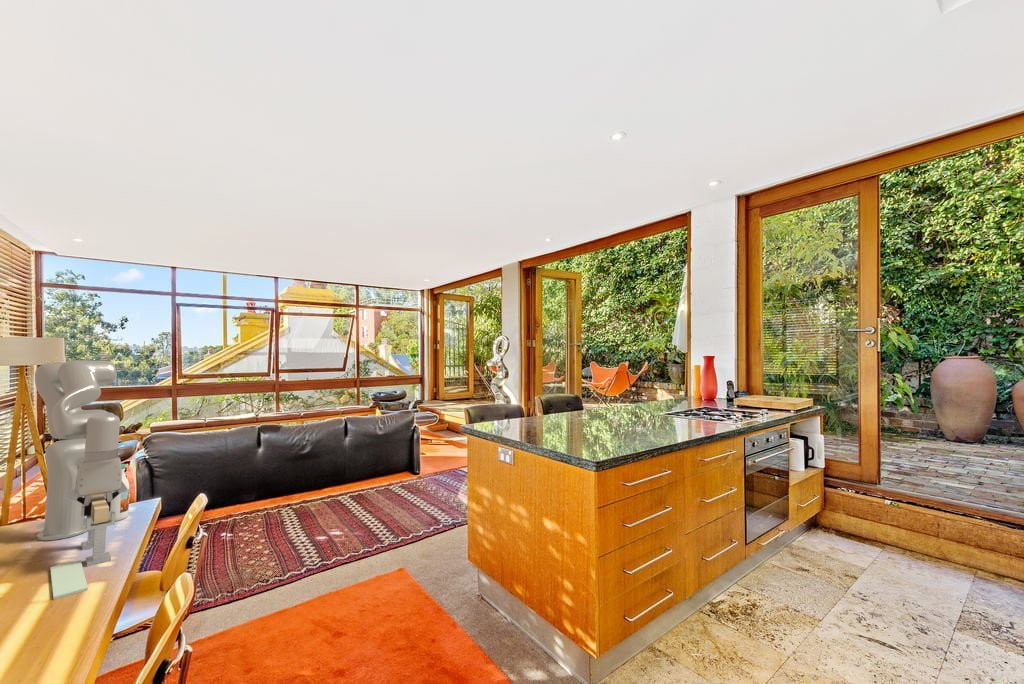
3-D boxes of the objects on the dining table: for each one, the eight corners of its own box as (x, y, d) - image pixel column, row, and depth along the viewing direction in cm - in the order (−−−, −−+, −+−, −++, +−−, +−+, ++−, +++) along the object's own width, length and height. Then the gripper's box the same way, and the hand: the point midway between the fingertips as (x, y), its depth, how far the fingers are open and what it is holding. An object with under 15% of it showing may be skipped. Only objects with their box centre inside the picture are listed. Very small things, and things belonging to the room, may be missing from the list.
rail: (87, 505, 138) (88, 492, 138) (100, 503, 140) (100, 490, 140) (93, 523, 123) (94, 509, 123) (108, 521, 125) (109, 507, 125)
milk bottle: (110, 523, 154) (114, 467, 155) (93, 522, 156) (97, 466, 157) (133, 516, 162) (136, 463, 163) (117, 515, 163) (120, 462, 164)
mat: (50, 569, 120) (50, 567, 120) (80, 562, 124) (80, 560, 124) (53, 599, 105) (53, 596, 105) (87, 589, 109) (87, 587, 109)
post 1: (78, 546, 135) (81, 503, 136) (104, 540, 140) (107, 499, 140) (80, 550, 132) (82, 507, 133) (106, 544, 136) (109, 502, 137)
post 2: (83, 561, 125) (86, 515, 125) (111, 554, 129) (113, 510, 130) (84, 566, 121) (87, 519, 122) (113, 559, 126) (115, 514, 127)
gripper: (134, 450, 141) (130, 506, 140) (62, 457, 129) (57, 519, 128) (138, 453, 136) (134, 512, 135) (63, 462, 124) (58, 526, 123)
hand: (97, 515), depth 131 cm, fingers closed on rail, 3 cm apart
